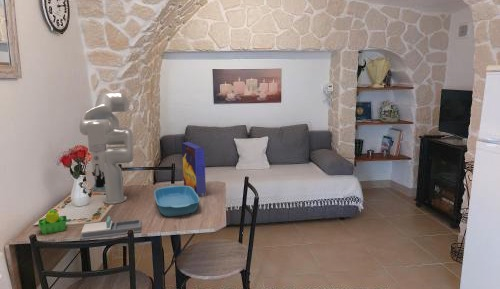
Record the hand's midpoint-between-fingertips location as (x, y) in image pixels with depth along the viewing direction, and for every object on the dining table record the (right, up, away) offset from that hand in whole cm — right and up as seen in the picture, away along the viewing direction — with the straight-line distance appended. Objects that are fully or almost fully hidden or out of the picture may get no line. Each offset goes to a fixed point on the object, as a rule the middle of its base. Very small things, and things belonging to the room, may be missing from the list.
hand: (100, 185), depth 166 cm
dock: (+7, -20, -4) cm, 22 cm away
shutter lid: (+1, -19, -6) cm, 19 cm away
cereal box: (+36, -10, +51) cm, 63 cm away
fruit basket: (-21, -21, -3) cm, 29 cm away
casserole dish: (+30, -15, +27) cm, 43 cm away
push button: (0, -2, 0) cm, 2 cm away
